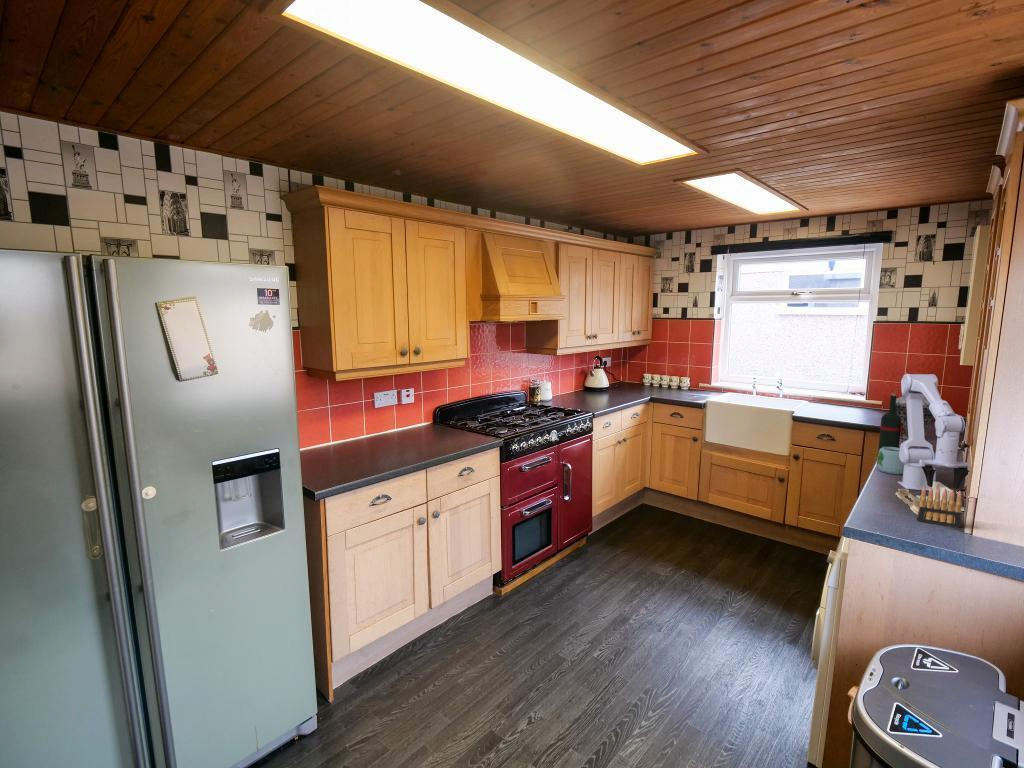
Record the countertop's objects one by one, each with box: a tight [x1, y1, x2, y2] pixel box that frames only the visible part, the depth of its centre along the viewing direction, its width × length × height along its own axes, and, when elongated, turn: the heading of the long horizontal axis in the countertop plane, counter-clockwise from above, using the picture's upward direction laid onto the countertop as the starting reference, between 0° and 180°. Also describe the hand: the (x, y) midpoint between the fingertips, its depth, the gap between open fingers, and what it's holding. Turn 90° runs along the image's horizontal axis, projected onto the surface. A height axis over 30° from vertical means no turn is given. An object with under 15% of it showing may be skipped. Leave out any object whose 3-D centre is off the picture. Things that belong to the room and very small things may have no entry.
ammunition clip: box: [916, 486, 963, 528], centre depth 164 cm, size 11×2×12 cm, turn 58°
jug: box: [895, 387, 940, 440], centre depth 272 cm, size 21×19×30 cm
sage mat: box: [915, 494, 964, 511], centre depth 181 cm, size 10×13×1 cm
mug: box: [876, 447, 904, 475], centre depth 220 cm, size 15×11×10 cm
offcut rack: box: [895, 488, 933, 516], centre depth 181 cm, size 6×20×3 cm, turn 163°
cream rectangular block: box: [932, 481, 953, 507], centre depth 181 cm, size 2×10×6 cm, turn 163°
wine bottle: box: [877, 392, 904, 455], centre depth 240 cm, size 8×10×30 cm
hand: (942, 487), depth 180 cm, fingers open, 7 cm apart
